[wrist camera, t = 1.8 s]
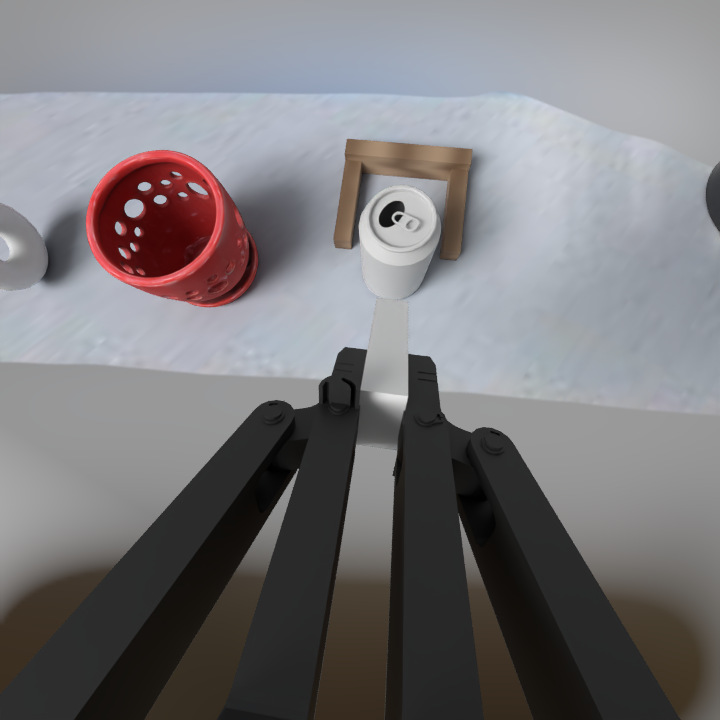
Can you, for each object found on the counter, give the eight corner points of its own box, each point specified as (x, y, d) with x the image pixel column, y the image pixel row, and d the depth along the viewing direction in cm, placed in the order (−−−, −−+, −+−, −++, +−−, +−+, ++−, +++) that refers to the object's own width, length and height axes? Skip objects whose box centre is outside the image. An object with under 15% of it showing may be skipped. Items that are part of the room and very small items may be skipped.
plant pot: (147, 262, 41) (54, 203, 29) (230, 202, 41) (173, 120, 29) (203, 340, 39) (128, 313, 27) (289, 276, 39) (252, 222, 28)
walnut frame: (465, 168, 40) (472, 149, 37) (456, 260, 39) (462, 248, 36) (348, 157, 41) (347, 138, 38) (335, 247, 40) (332, 235, 37)
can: (387, 233, 40) (394, 160, 28) (435, 268, 39) (463, 208, 27) (350, 278, 39) (339, 223, 27) (397, 314, 38) (409, 274, 26)
